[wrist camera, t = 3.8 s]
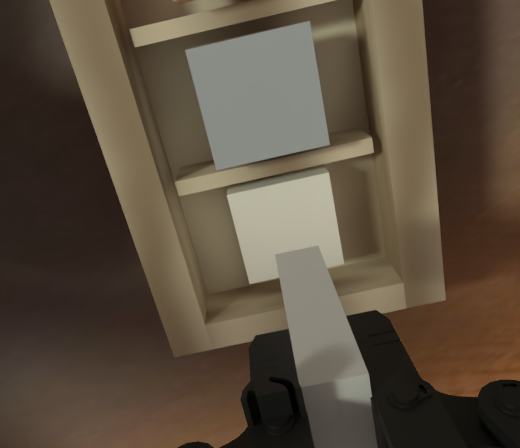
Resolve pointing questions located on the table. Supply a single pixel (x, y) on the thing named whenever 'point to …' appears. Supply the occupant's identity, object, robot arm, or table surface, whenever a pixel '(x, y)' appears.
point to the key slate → (260, 95)
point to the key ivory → (284, 219)
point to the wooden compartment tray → (216, 181)
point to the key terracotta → (181, 1)
